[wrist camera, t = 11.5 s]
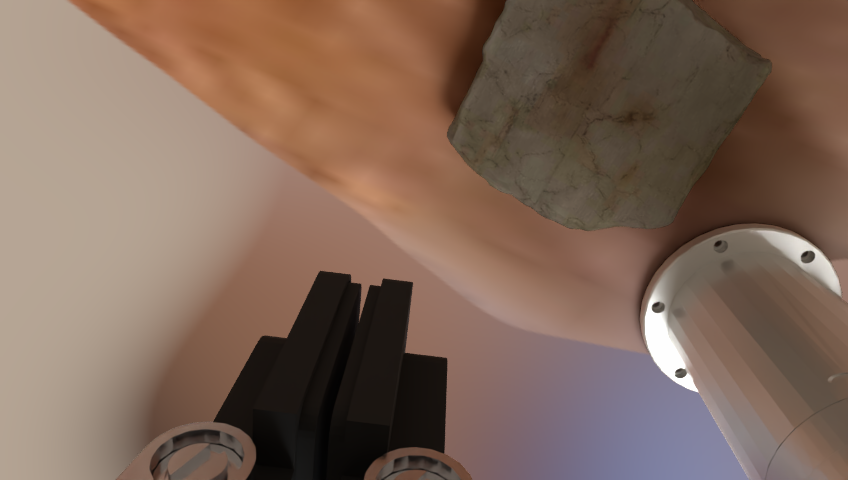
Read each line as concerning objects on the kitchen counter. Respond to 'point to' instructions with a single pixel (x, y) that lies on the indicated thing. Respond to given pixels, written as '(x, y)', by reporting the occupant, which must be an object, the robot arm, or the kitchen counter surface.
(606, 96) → the marble piece
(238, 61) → the kitchen counter surface
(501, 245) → the kitchen counter surface
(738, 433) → the robot arm
